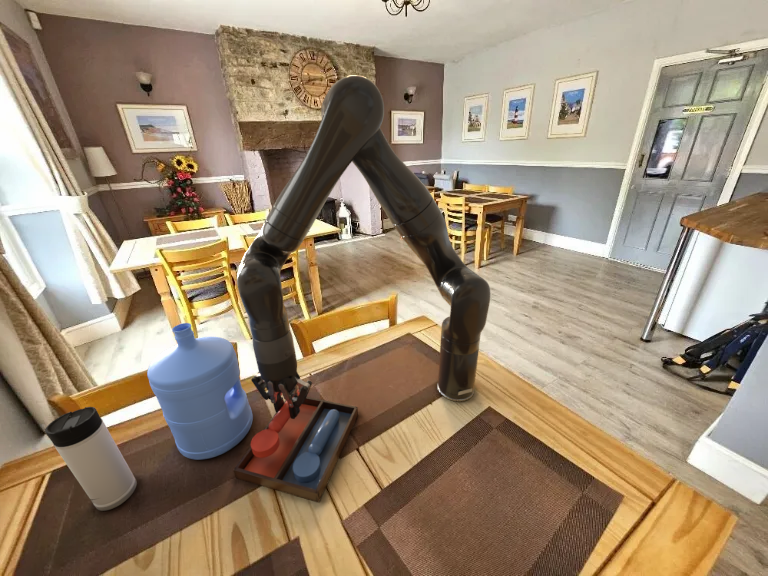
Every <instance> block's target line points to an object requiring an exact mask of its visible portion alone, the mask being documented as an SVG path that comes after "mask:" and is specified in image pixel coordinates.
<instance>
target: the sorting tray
mask: <svg viewBox="0 0 768 576" xmlns="http://www.w3.org/2000/svg"><path fill="white" fill-rule="evenodd" d="M286 401H287V400H285V399H284V403H285V402H286ZM299 408H300V412H299V414H298V415H297V417H295V419H291V417H290V418H289V420H288V421H287V422H286V424H285V425H284V427H283V428H282V430H281V431H280V432H279V433H278V436H279V441H280V444H279V447H278V449H277V450H276V451H275V452H274V453H273V454H272V455H270V456H268V457H264V458H259V457H256V456H255V455H254V454H253V452H252V448H251V446H249V448H248V449H247V450H246V452H245V453H244V455H243V456H242V457H241V459H240V460H239V461H238V462H237V463H236V465H235V467H234V468H233V469H232V470H233V474H234V476H235V479H236V480H241V481H244V482H248V483H250V484H251V483H252V484H254V485H257V486H261V487H265V488H268V489H271V490H275V491H278V492H281V493H285V494H287V495H291V496H294V497H299V498H302V499H305V500H307V501H311V502H315V503H320V501H321V499H322V497H323V495H324V492H325V490H326V488H327V486H328V484H329V481H330V479H331V477H332V475H333V472H334V470H335V468H336V465H337V463H338V461H339V459H340V456H341V455H342V452H343V450H344V448H345V446H346V443H347V441H348V439H349V437H350V434H351V432H352V430H353V428H354V425H355V424H356V422H357V419H358V417H359V407H358V406H356V405H351V404H345V403H340V402H336V401H330V400H326V399H321V398H316V397H311V396H307V397H306V399H305V400H304V402H303V403H302V405H301V406H300V407H299ZM332 409H335V410H337V411H338V412H339V419H338V421H337V423H336V425H335V427H334V429H333V431H332V433H331V435H330V436H329V438H328V440H327V442H326V444H325V446H324V448H323V450H322V452H321V454H320V455H319V456H318V457H319V459H320V464H321V470H320V473H319V475H318V476H317V477H316V478H315V479H314V480H312V481H310V482H307V483H302V482H299V481H298V480H297V479H296V478H295V476H294V472H293V464H294V462H295V460H296V459H297V457H299V456H300V455H301V454H303V453H307V452H309V446H310V444H311V442H312V441H313V439H314V437H315V435H316V433H317V432H318V430H319V428H320V426H321V425H322V423H323V421H324V419H325V417H326V416H327V414H328V412H329V411H330V410H332ZM276 414H277V413H276V412H275V413H274V415H273V416H272V417H271V419H270V420H269V422H268V423H267V424H266V425H265V427H264V428H263V430H265V429H269V424H270V422H271V421H272V419H273V418H274V417H275V415H276Z"/></svg>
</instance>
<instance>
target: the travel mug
mask: <svg viewBox="0 0 768 576" xmlns="http://www.w3.org/2000/svg"><path fill="white" fill-rule="evenodd" d="M44 432H45V434H46V435H47V437H48V439H49V440H50V441H51V443H52V445H53V447H54V448H55V449H56V451H57V453H58V454H59V456H60V457H61V458H62V460H63V461H64V463H65V465H66V466H67V467H68V469H69V470H70V472H71V473H72V475H73V476H74V477H75V479H76V481H77V482H78V483H79V485H80V487H81V488H82V489H83V491H84V492H85V494H86V496H87V497H88V498H89V500H90V501H91V503H92V504H93V506H94V507H95V508H96V510H98V511H101V512H103V511H104V512H105V511H110V510H112V509H115V508H117V507H119V506H120V505H122V504H124V502H126V501H127V500H128V499H129V498H130V497H131V496H132V495H133V493H134V492H135V490H136V488H137V486H138V485H137V484H138V483H137V479H136V477H135V476H134V474H133V472H132V469H131V468H130V467H129V465H128V463H127V461H126V460H125V458H124V456H123V454H122V453H121V451H120V449H119V446H118V445H117V443H116V442H115V439H114V438H113V436H112V435H111V433H110V431H109V429H108V427H107V425H106V423H105V422H104V420H103V419H102V417H101V416H100V414H99V412H98V411H97V409H96V407H95V406H85V407H84V408H80V409H76V410H74V411H69V412H66V413H64V414H62V415H60V416H58V417H56V418H55V419H54V420H52V421H51V422H50V423H49V424H47V426H46V427H45V429H44Z"/></svg>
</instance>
